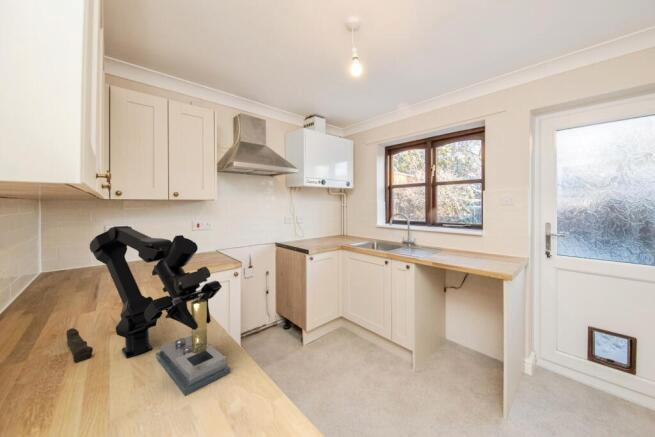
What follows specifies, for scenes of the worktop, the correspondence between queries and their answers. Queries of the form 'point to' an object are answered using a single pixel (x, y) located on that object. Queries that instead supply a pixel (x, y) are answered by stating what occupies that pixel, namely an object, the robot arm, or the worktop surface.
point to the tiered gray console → (191, 364)
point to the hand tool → (78, 346)
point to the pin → (199, 326)
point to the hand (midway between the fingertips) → (202, 325)
